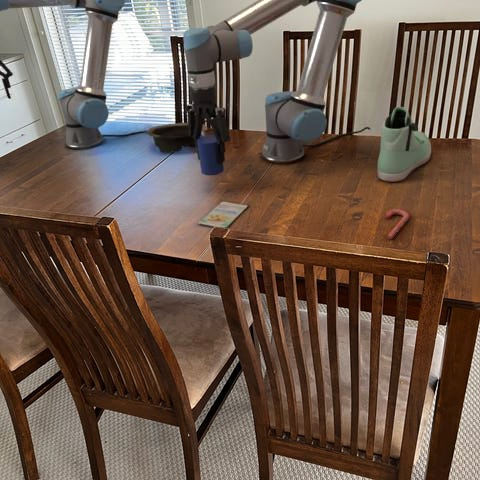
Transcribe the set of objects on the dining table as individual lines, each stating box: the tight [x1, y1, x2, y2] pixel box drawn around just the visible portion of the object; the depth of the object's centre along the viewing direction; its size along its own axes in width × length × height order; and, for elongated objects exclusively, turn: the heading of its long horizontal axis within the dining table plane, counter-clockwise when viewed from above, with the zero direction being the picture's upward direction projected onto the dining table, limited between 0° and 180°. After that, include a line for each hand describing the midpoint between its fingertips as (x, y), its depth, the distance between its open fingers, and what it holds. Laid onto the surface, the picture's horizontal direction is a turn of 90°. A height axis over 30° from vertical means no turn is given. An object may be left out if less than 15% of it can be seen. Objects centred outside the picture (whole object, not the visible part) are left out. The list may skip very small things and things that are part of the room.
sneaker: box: [376, 106, 432, 183], centre depth 158 cm, size 14×35×20 cm, turn 152°
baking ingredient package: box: [198, 201, 249, 228], centre depth 141 cm, size 9×1×15 cm
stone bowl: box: [143, 122, 208, 154], centre depth 192 cm, size 25×25×9 cm
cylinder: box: [197, 134, 225, 176], centre depth 150 cm, size 7×7×11 cm
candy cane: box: [385, 208, 410, 240], centre depth 129 cm, size 6×15×2 cm, turn 145°
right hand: (211, 160), depth 151 cm, fingers closed on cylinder, 7 cm apart
